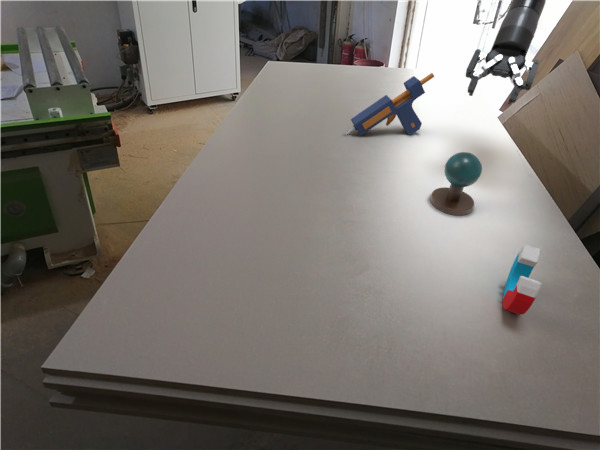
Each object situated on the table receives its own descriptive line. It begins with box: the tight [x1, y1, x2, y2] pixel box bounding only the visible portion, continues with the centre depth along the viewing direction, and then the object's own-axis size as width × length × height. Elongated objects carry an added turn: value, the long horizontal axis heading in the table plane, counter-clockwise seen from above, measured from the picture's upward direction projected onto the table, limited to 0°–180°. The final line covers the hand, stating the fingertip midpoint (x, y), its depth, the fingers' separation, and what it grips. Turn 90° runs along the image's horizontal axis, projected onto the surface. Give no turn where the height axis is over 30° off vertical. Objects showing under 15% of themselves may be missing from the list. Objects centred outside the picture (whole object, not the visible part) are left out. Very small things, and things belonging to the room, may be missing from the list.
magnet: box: [502, 244, 542, 315], centre depth 71 cm, size 12×3×10 cm, turn 155°
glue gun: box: [345, 72, 435, 136], centre depth 126 cm, size 6×31×15 cm
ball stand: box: [429, 151, 483, 216], centre depth 95 cm, size 10×10×14 cm
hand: (490, 98), depth 91 cm, fingers open, 8 cm apart
